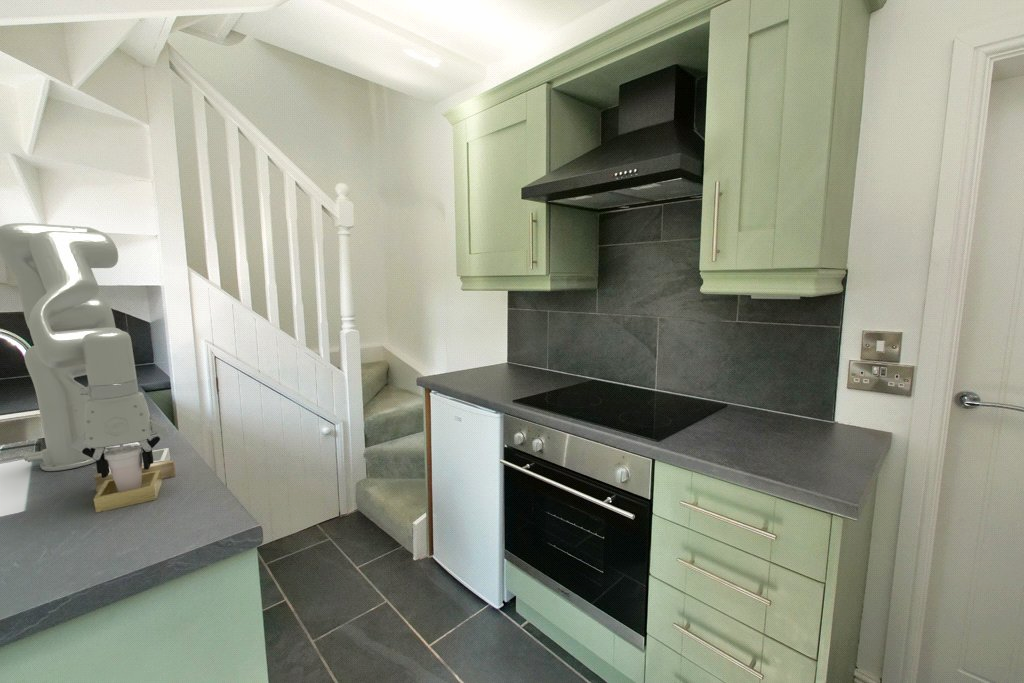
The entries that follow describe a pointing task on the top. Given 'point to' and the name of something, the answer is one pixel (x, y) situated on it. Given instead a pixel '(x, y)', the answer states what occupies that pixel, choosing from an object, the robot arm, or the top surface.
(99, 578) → the top surface
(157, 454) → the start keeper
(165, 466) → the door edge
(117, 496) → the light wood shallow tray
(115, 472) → the smoothie
